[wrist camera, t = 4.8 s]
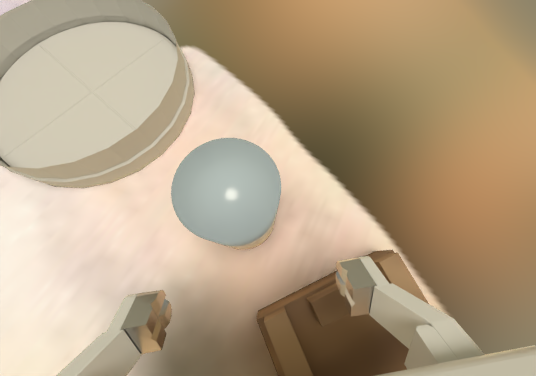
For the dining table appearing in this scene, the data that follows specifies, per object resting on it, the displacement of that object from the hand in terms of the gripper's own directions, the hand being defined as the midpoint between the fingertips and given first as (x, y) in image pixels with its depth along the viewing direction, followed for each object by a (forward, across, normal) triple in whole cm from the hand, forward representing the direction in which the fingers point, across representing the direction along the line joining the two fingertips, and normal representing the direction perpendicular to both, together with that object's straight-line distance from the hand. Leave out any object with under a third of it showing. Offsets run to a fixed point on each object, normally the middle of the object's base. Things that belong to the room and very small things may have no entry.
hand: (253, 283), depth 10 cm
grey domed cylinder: (+11, +1, +4) cm, 11 cm away
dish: (+23, +16, -8) cm, 29 cm away
